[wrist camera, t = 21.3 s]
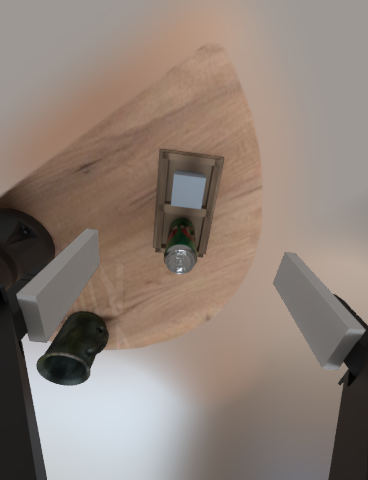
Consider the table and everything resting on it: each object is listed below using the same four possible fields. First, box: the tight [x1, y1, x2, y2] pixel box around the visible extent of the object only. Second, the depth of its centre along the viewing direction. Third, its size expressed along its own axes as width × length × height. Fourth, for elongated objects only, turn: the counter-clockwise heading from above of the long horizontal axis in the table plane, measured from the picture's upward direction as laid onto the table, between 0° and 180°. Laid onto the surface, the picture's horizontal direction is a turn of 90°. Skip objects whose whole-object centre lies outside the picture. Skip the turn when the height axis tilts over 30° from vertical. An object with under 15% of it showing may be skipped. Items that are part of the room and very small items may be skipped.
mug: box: [37, 312, 109, 385], centre depth 50 cm, size 11×15×12 cm
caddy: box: [153, 149, 224, 257], centre depth 40 cm, size 11×19×3 cm, turn 173°
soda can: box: [164, 218, 197, 274], centre depth 37 cm, size 5×5×12 cm
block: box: [171, 169, 206, 209], centre depth 36 cm, size 5×5×5 cm
